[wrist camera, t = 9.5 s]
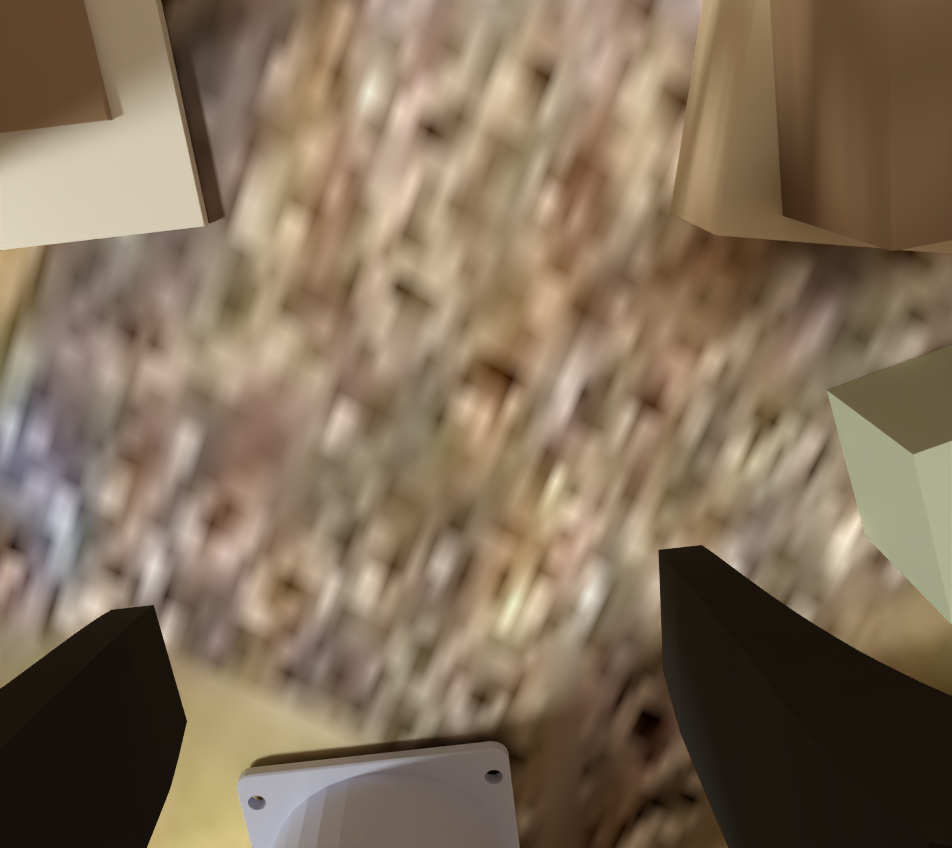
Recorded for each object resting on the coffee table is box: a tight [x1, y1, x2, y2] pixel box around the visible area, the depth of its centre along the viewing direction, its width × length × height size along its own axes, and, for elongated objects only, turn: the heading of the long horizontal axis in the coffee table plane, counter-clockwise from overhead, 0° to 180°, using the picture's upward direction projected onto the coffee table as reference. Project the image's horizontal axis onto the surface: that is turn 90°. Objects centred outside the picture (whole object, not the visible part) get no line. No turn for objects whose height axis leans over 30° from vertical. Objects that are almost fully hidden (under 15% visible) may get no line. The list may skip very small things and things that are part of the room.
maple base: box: [670, 0, 952, 254], centre depth 18 cm, size 6×6×4 cm
